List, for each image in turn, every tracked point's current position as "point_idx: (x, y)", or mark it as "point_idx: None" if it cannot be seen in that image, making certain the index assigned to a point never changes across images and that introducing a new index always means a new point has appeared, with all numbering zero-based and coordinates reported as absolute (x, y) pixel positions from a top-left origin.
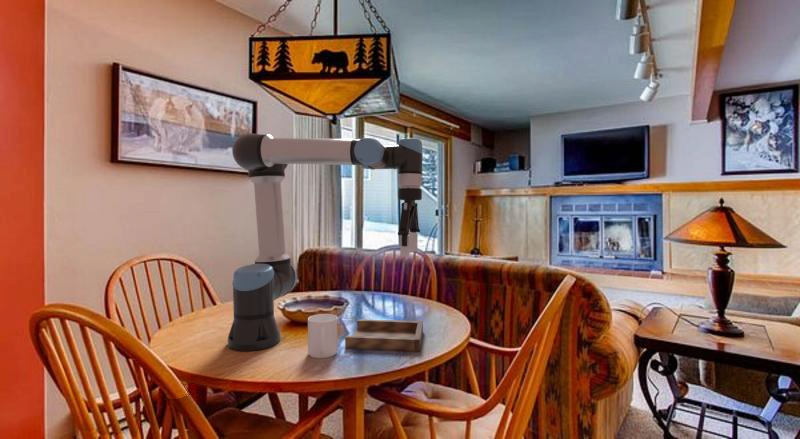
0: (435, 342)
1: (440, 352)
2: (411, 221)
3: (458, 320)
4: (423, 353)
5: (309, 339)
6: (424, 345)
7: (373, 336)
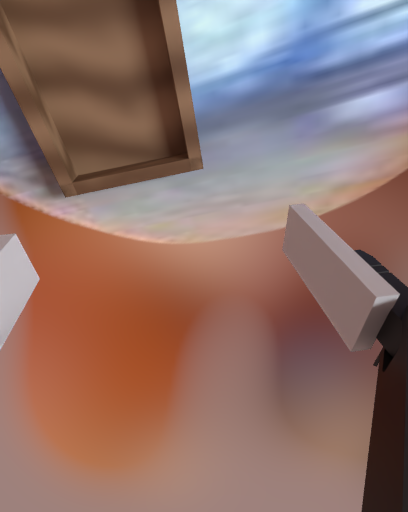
0: (141, 203)
1: (92, 223)
2: (386, 482)
3: None
4: None
5: None
6: None
7: (15, 64)
